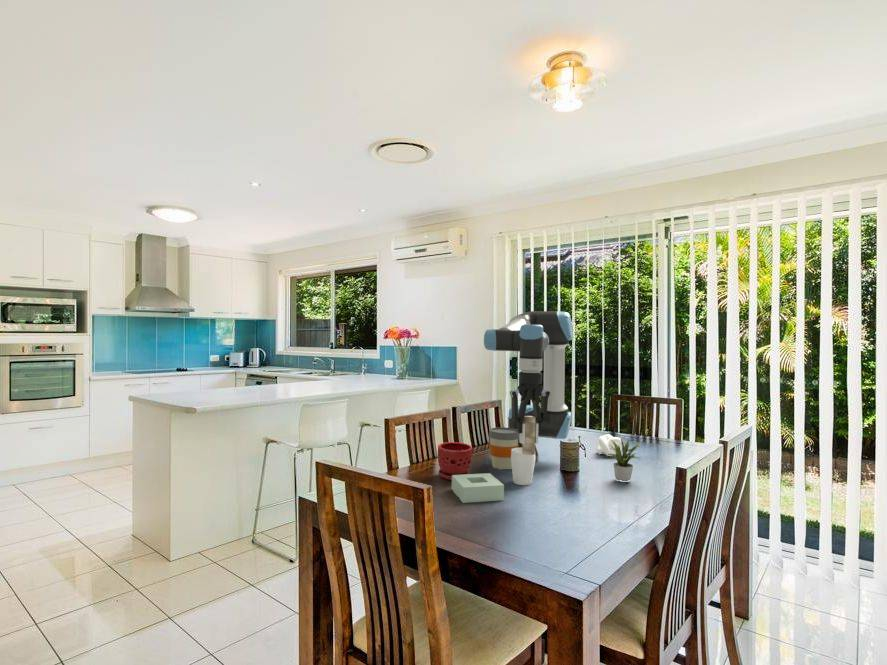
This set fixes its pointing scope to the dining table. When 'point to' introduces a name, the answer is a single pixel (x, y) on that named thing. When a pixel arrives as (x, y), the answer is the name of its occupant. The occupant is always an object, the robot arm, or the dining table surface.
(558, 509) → the dining table surface
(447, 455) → the plant pot
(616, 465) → the house plant
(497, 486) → the socket block
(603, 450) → the crumpled white lump
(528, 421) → the peg
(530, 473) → the cup
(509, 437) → the reusable coffee cup
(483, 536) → the dining table surface
